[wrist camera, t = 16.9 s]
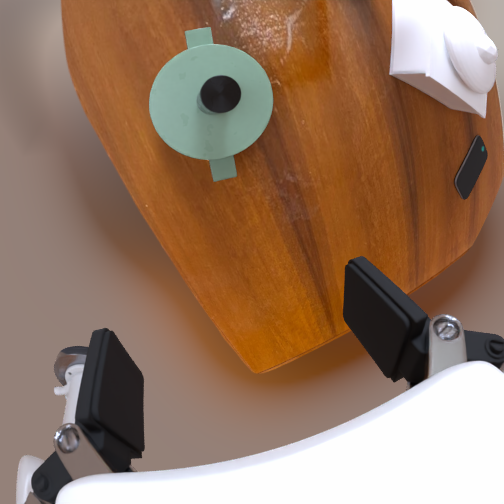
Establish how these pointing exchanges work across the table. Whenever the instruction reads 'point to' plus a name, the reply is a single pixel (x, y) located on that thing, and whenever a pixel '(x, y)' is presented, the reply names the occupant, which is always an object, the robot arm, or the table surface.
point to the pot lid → (211, 102)
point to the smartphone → (471, 168)
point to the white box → (443, 53)
